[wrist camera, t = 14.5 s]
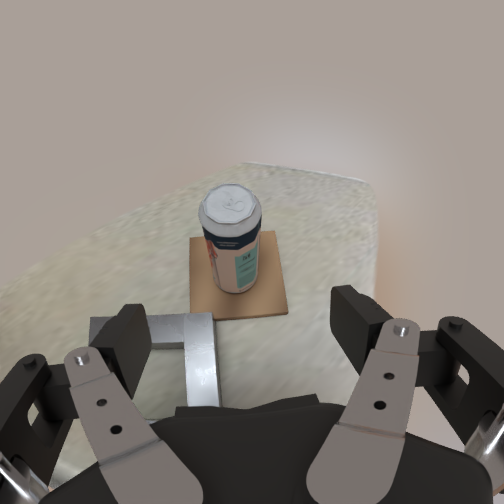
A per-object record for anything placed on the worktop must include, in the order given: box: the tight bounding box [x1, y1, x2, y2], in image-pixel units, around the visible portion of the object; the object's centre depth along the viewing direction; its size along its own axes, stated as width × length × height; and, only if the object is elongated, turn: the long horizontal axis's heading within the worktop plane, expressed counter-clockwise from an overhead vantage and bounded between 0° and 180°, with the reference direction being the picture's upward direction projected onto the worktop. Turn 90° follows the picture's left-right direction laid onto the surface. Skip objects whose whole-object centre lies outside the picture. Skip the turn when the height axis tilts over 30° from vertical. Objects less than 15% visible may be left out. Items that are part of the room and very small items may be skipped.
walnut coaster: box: [190, 231, 288, 321], centre depth 32 cm, size 10×10×1 cm
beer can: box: [198, 183, 262, 293], centre depth 26 cm, size 5×5×12 cm
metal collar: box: [88, 312, 222, 425], centre depth 25 cm, size 13×13×3 cm
